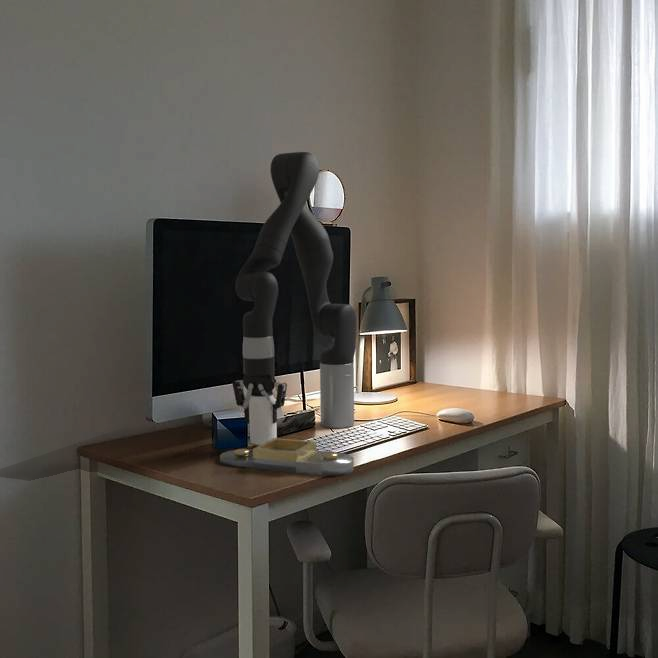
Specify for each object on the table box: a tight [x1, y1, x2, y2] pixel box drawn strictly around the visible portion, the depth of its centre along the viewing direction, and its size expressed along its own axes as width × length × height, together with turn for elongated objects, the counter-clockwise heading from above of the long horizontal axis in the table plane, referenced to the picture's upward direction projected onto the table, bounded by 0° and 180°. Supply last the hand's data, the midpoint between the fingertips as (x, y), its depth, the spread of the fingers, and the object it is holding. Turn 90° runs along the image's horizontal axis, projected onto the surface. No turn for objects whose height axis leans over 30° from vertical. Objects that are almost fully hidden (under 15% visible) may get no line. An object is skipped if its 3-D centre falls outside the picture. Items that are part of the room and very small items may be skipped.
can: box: [249, 392, 278, 446], centre depth 187 cm, size 6×6×12 cm
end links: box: [219, 437, 355, 477], centre depth 172 cm, size 32×11×4 cm, turn 67°
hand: (260, 423), depth 187 cm, fingers closed on can, 5 cm apart
